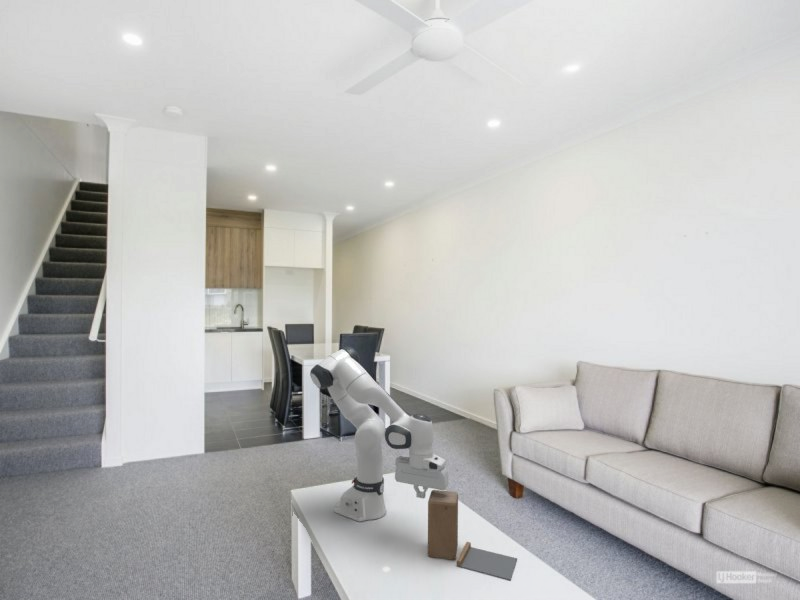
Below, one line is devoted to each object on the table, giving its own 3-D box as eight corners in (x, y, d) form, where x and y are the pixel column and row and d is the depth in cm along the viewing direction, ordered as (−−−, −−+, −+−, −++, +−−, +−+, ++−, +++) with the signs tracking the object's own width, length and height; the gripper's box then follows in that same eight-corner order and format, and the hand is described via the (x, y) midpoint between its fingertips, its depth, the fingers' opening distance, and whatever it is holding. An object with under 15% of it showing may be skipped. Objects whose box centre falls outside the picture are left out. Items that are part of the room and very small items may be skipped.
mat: (456, 566, 145) (456, 560, 145) (466, 547, 157) (466, 541, 157) (510, 580, 138) (510, 574, 138) (517, 559, 150) (517, 553, 150)
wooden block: (455, 561, 148) (456, 502, 148) (427, 557, 150) (427, 500, 150) (457, 545, 158) (458, 491, 158) (430, 542, 160) (431, 488, 160)
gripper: (392, 457, 159) (391, 495, 159) (444, 466, 151) (444, 506, 151) (399, 452, 165) (398, 488, 165) (449, 460, 157) (449, 499, 156)
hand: (420, 497), depth 158 cm, fingers closed
